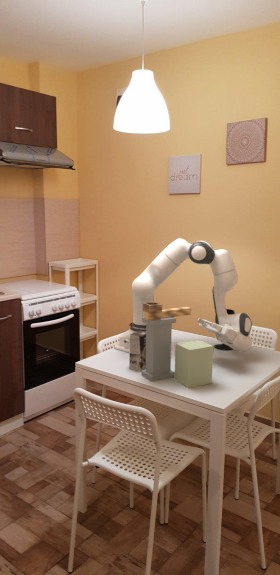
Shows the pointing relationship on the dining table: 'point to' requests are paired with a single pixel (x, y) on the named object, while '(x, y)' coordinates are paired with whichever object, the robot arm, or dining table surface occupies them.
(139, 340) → the coffee box
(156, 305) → the catapult arm
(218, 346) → the wine glass
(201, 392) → the dining table surface
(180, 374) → the box
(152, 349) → the tower
